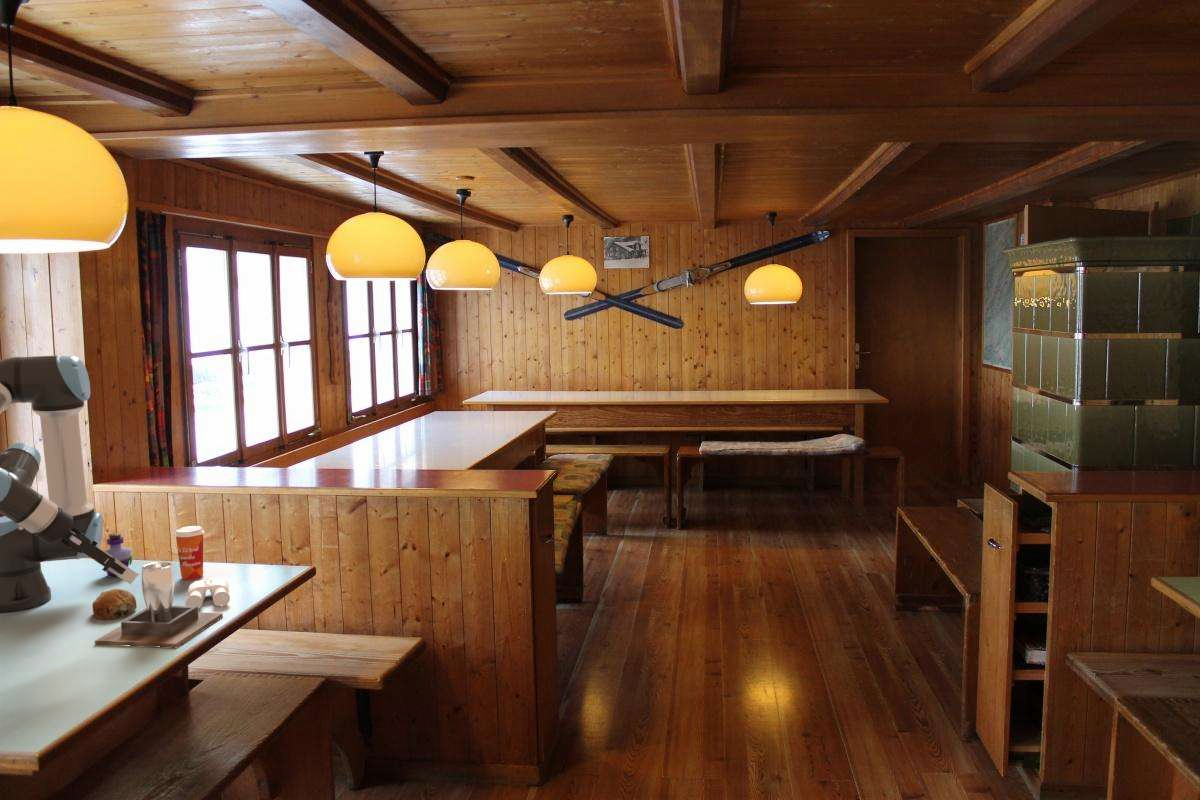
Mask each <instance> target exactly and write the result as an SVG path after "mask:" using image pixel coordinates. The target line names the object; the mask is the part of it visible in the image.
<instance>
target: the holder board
mask: <svg viewBox="0 0 1200 800" xmlns="http://www.w3.org/2000/svg"><path fill="white" fill-rule="evenodd" d="M172 612H173V617H174V619H172V620H171V621H169V622H148V611H147V607H146V608H145V609H143V610H140V611H139V612H137V613H135V614H133V615H132V616H129V617H128V618H125V620H122V621H121V622H120V626H119V627H116V628H114V629H113V630H111V631H109V632H108V633H106V634H104V635H102V636H100V637H99V638H97V639H96V640H94V645H95V646H112V645H130V646H129V647H137V646H160V647H159V648H162V647H177V646H179V645H180V646H181V644H182V643H183V642H185V641H186V642H188V641H189V640H191V639H192V638H194V637H195V636H196V634H197V635H198V634H199V632H200V631H201V632H202V630H203V629H204V630H205V628H206V627H207V628H209V627H210V626H211V625H210V624H212V623H213V624H215V623H216V622H218V621H219V620H221V619H222V618H224V617H223V612H202V611H201V612H199V609H198V607H195V606H186V605H172ZM220 618H221V619H220ZM218 619H219V620H218ZM217 620H218V621H217ZM215 621H216V622H215ZM214 622H215V623H214ZM213 624H212V625H213ZM209 625H210V626H209ZM208 626H209V627H208ZM207 628H206V629H207ZM204 630H203V631H204ZM201 632H200V633H201ZM193 636H194V637H193ZM190 638H191V639H190ZM187 640H188V641H187ZM186 642H185V643H186ZM183 644H184V643H183ZM183 644H182V645H183ZM180 646H179V647H180ZM177 648H178V647H177Z"/></svg>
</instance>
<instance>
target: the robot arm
mask: <svg viewBox="0 0 1200 800" xmlns="http://www.w3.org/2000/svg"><path fill="white" fill-rule="evenodd" d="M90 397H91V383H90V377H89V374H88V371H87V368H86V366H85V363H84V361H82V359H81V358H80V357H77V356H74V355H62V354H60V355H59V354H58V355H56V354H55V355H41V356H40V355H39V356H38V355H35V356H12V357H8V358H4V359H1V360H0V415H1V414H2V412H5V411H6V410H7V409H8V408H9V407H10V405H11V404H16V403H17V404H18V403H19V404H21V403H22V404H24V403H25V404H26V403H31V408H32V411H33V412H34V413H35V414H36V415H38V416H39V420H40V429H41V438H42V447H43V455H44V456H43V457H44V466H45V467H44V468H45V476H46V484H47V486H46V487H47V492H48V493H47V495H48V497H46V496H44V495H43V494H41V493H39V492H38V491H36V490H35V489H33V488H32V486H33V484H34V482H35V479H36V476H37V474H38V473H39V470H40V465H41V460H42V456H41V453H40V452H39V450H38V449H37V448H36V447H35V446H33V445H31V444H29V443H24V442H17V443H14V444H11V445H10V446H8V447H6V449H5V450H4V451H3V452H0V514H1V515H3V516H0V613H5V612H8V611H9V612H16V611H20V610H26V609H31V608H34V607H38V606H40V605H43V604H45V603H47V602H48V601H50V600H51V599H52V590H51V587H50V586H49V585H48V582H47V580H46V577H45V575H44V574H43V571H42V562H55V561H66V560H80V559H85V558H86V559H87V558H90V559H92V560H94V561H95V562H97V564H99V565H100V566H102V567H103V568H102V569H101V570H102V571H103V572H105V573H107V572H106V570H109V571H111V572H112V573H114V574H115V575H117V576H118V577H117V578H120V579H122V580H123V581H124V582H126V583H127V584H129V585H131V584H132V583H133V582H134V581H135V580H136V578H137V577H138V576H139V575H140V574H139V573H138V572H136V571H134V570H133V569H132V568H130V567H129V566H128V567H127V566H125V565H124V564H122V563H121V562H120V561H119V560H117V559H116V558H114V557H113V556H111V555H110V554H108V553H107V552H105V550H104V549H102V548H100V547H101V545H102V544H101V543H102V539H103V532H104V531H103V530H104V518H103V514H102V513H101V512H96V511H95V505H94V504H93V503H91V502H89V501H88V497H87V490H86V489H87V487H86V479H85V469H84V459H83V457H84V455H83V447H82V437H81V436H82V435H81V428H80V427H81V425H80V417H79V413H80V412H81V410H83V408H84V407H85V402H86V401H88V400H89V399H90Z"/></svg>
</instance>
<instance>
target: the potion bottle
mask: <svg viewBox="0 0 1200 800" xmlns="http://www.w3.org/2000/svg"><path fill="white" fill-rule="evenodd" d="M121 535H122V534H121V533H119V532H114V533H110V534H108V538H107V539H106V545H108V546H109V548H107V549H105V550H104V551H105V552H107V553H108V554H110V555H111V556H113V557H114V558H116V559H117V560H119V561H120V562H121V563H122V564H124V565H125V566H127V567H128V568H129V566H130V565H132V564H133V555H132V552H133V548H132V547H131V548H130V547H124V546H122V544H124V541H125V539H124V537H123V536H121ZM105 573H106V576H111V577H115V578H118V577H117V575H115V574H114V573H112V572H111V571H109V570H106V572H105Z"/></svg>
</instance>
